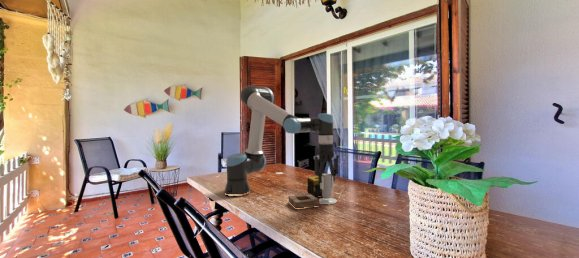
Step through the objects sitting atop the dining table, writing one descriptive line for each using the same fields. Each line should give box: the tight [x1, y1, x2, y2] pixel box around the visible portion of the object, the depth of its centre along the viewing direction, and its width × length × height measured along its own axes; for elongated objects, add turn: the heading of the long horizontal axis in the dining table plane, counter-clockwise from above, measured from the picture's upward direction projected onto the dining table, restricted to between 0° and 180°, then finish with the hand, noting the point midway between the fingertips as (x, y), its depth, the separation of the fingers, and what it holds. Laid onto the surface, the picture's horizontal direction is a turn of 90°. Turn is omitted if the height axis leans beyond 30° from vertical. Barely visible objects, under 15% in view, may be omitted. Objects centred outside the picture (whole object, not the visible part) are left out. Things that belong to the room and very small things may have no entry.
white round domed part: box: [318, 197, 338, 205], centre depth 140 cm, size 10×10×1 cm
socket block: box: [288, 193, 320, 209], centre depth 136 cm, size 12×12×4 cm
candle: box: [306, 175, 322, 197], centre depth 153 cm, size 10×10×10 cm
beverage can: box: [321, 173, 333, 199], centre depth 140 cm, size 5×5×12 cm
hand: (326, 188), depth 140 cm, fingers closed on beverage can, 5 cm apart
